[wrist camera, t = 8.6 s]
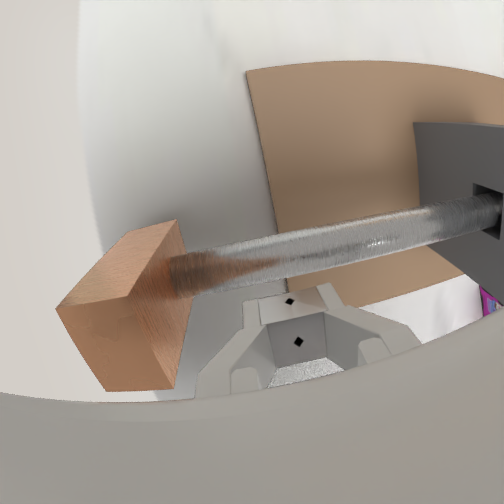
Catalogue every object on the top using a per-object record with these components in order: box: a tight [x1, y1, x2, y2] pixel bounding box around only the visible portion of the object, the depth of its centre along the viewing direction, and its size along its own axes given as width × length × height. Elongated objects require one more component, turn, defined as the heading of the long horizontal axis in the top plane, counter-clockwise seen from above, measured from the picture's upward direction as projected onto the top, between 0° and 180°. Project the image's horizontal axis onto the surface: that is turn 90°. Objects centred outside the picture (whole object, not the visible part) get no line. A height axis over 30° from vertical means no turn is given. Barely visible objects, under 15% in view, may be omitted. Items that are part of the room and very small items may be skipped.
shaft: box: [56, 191, 503, 392], centre depth 12 cm, size 4×24×8 cm, turn 102°
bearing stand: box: [246, 61, 504, 308], centre depth 15 cm, size 20×32×13 cm, turn 102°
